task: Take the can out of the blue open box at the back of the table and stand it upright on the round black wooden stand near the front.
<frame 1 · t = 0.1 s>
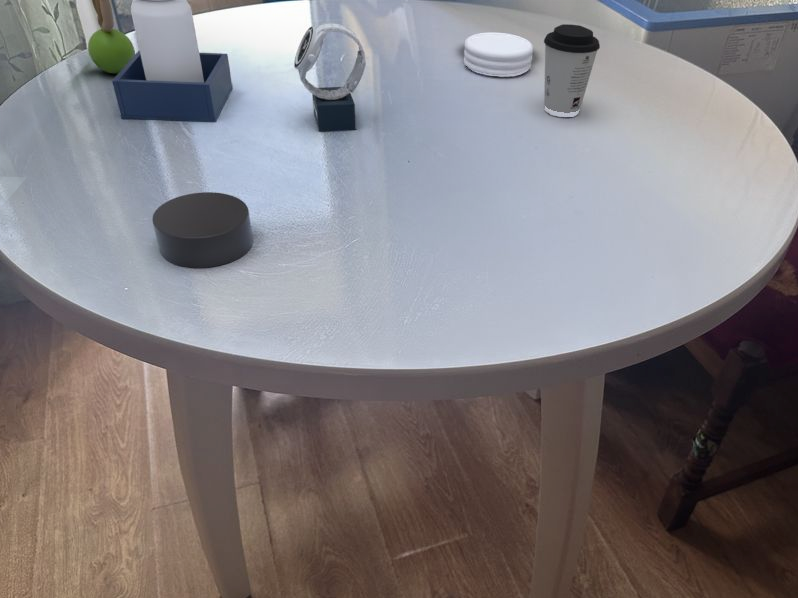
blue open box: (179, 102, 88), on the table
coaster: (496, 68, 105), on the table
can: (179, 101, 87), resting on blue open box
green maraca: (118, 75, 94), on the table
watch: (333, 123, 86), on the table
coffee cup: (561, 112, 93), on the table
stand: (207, 243, 64), on the table
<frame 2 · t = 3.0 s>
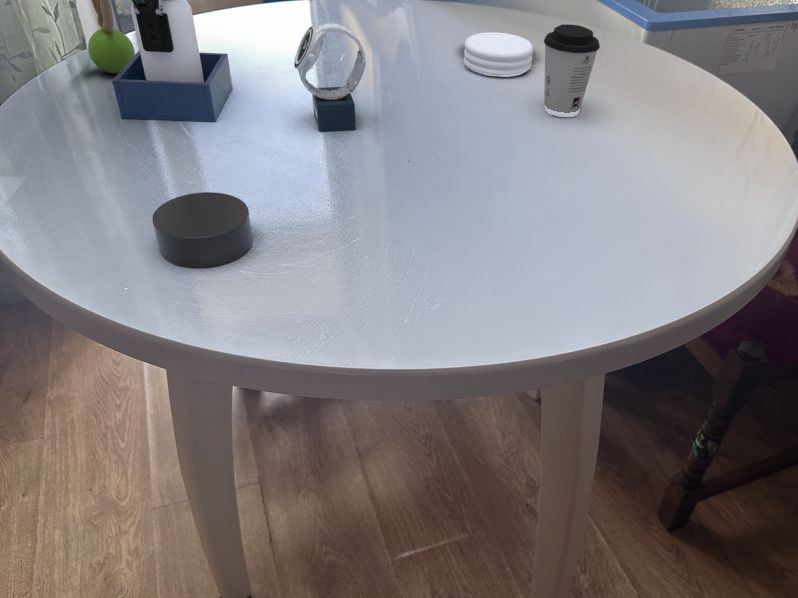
hand: (167, 39, 83), 7 cm above the table, tool pointing down, fingers closed on can, 6 cm apart
can: (179, 101, 87), resting on blue open box, touching gripper
everything else where it was.
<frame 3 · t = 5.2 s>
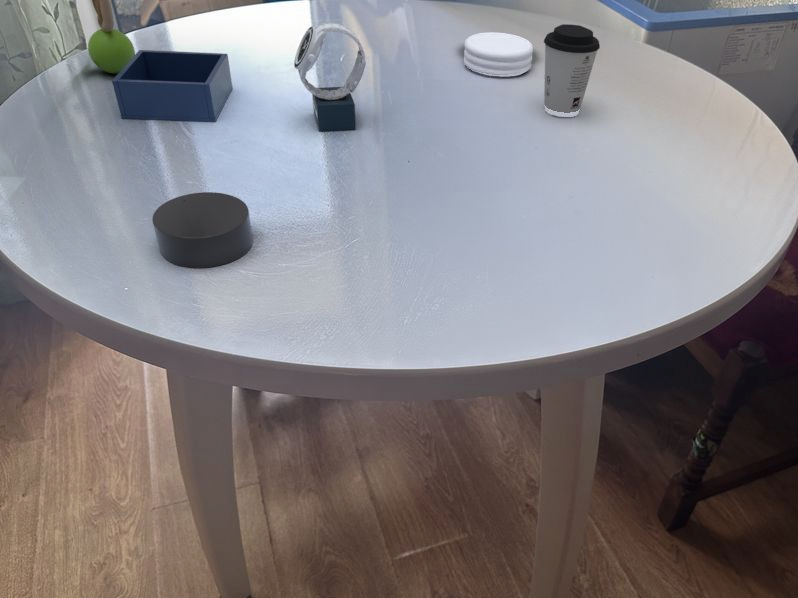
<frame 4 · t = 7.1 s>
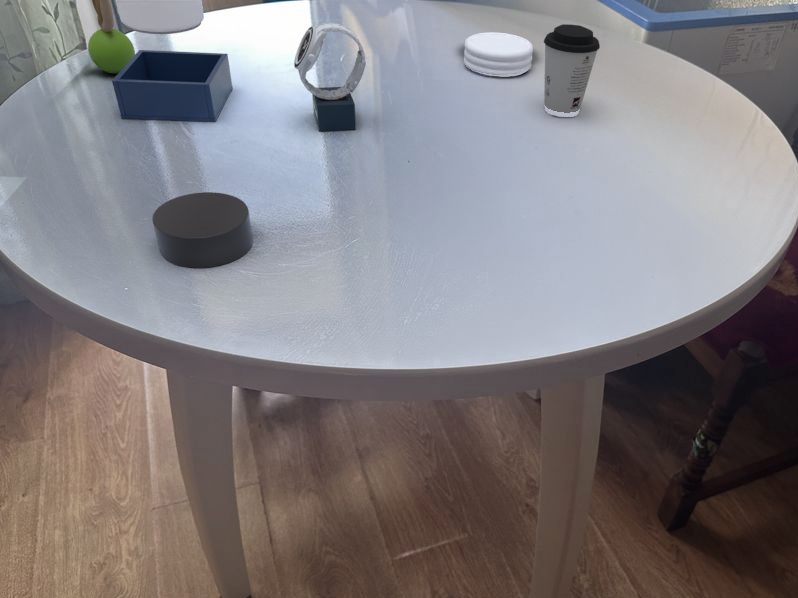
can: (164, 25, 59), point 16 cm above the table, touching gripper
everything else where it was.
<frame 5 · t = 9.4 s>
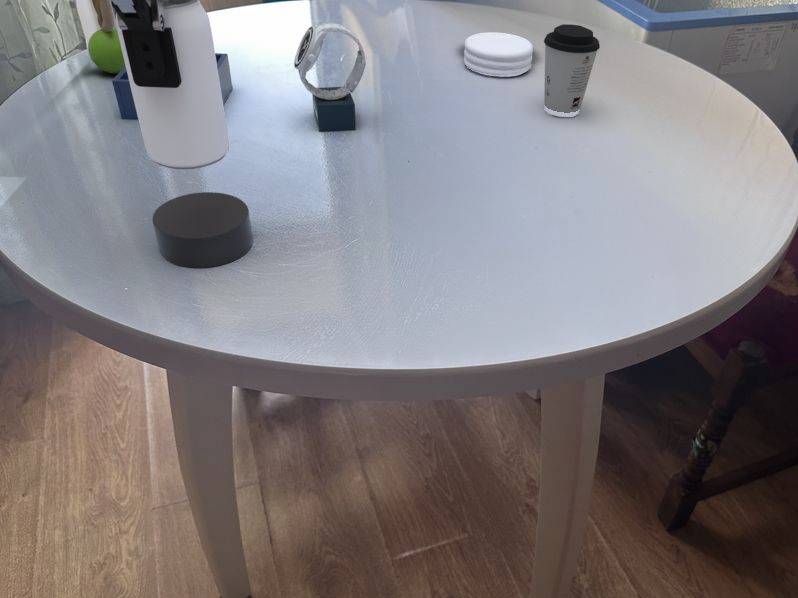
hand: (171, 66, 54), 16 cm above the table, tool pointing down, fingers closed on can, 6 cm apart
can: (190, 155, 59), point 8 cm above the table, touching gripper
everything else where it was.
when the fingers open (10 cm above the table, at t = 11.3 s): can stays where it is, resting on stand.
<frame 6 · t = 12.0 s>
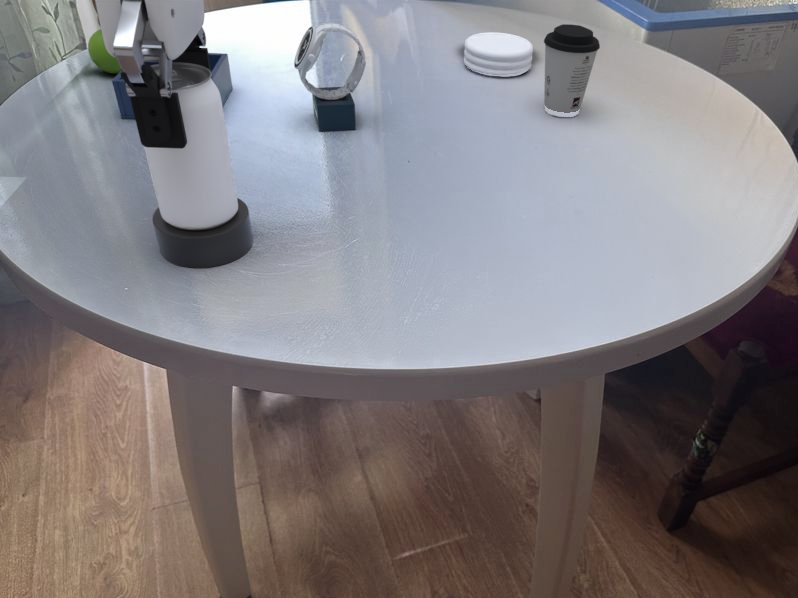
hand: (181, 119, 57), 11 cm above the table, tool pointing down, fingers open, 9 cm apart
can: (201, 215, 62), point 3 cm above the table, touching stand
everything else where it was.
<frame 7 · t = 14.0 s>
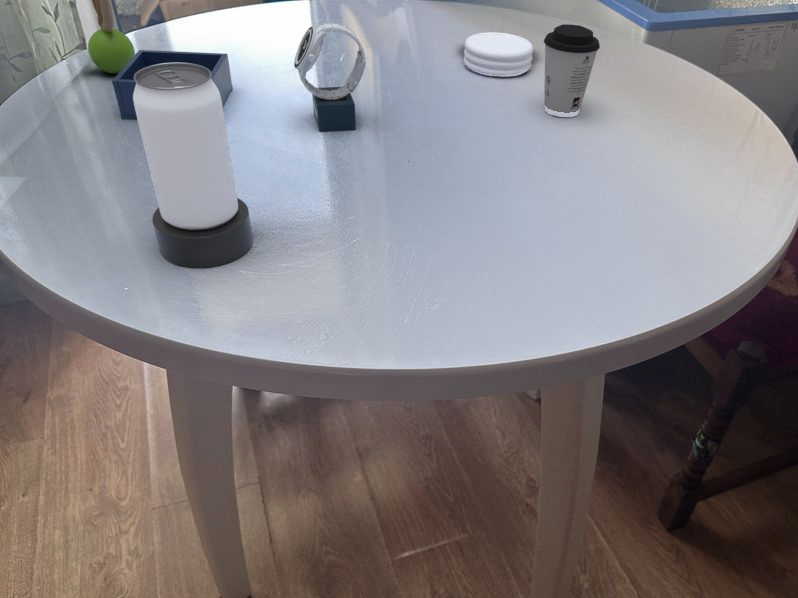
nothing on the table moved.
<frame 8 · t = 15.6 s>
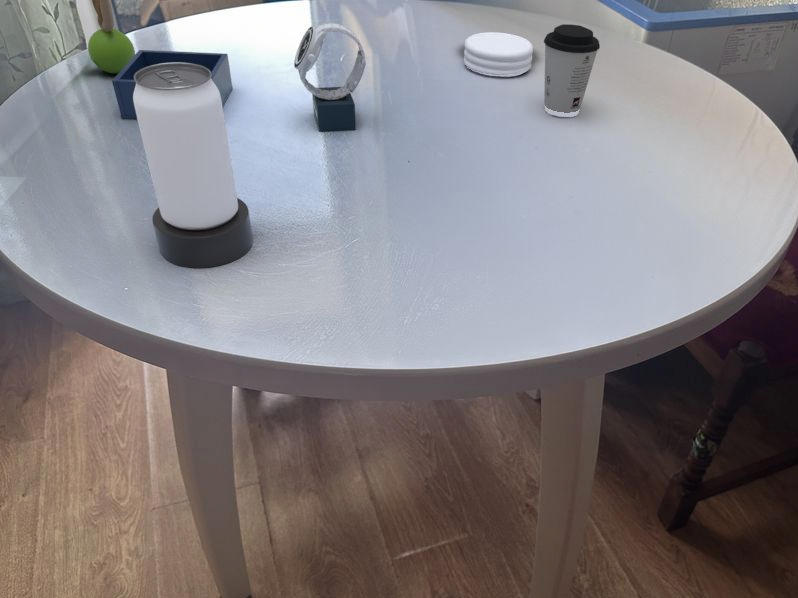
nothing on the table moved.
at the end: can 0.0 cm off-centre on the stand, point 2.8 cm above the stand's base; can tilted 0°; the gripper is holding nothing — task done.
